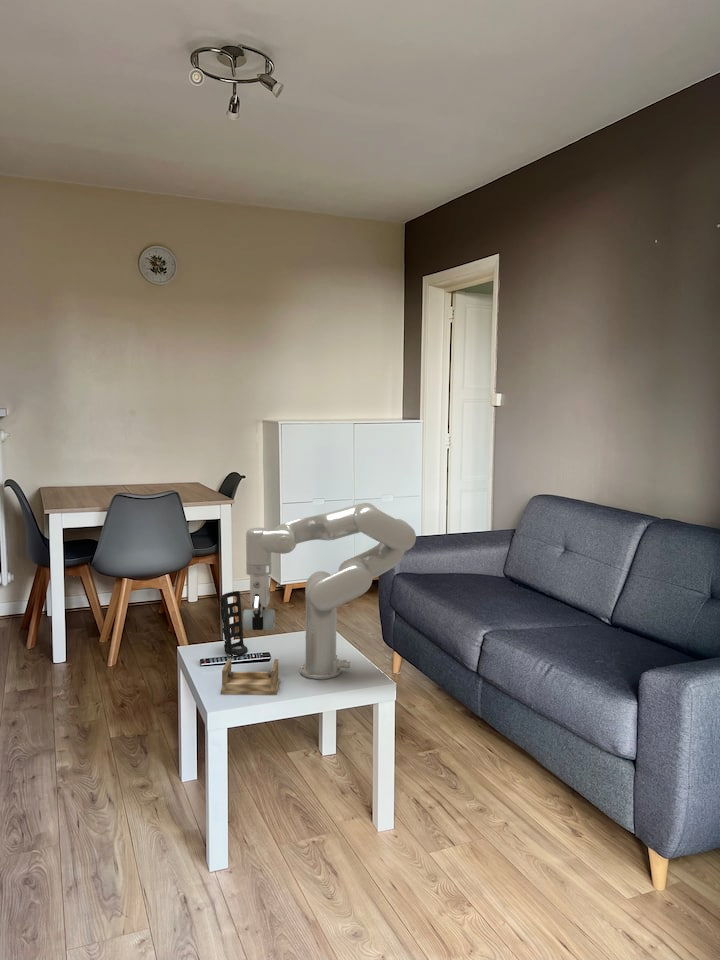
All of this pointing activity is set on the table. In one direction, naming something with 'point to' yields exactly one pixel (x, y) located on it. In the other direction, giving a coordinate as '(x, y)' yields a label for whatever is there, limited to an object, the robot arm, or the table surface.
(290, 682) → the table surface
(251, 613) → the roll
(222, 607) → the holder
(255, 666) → the table surface
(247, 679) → the cradle
